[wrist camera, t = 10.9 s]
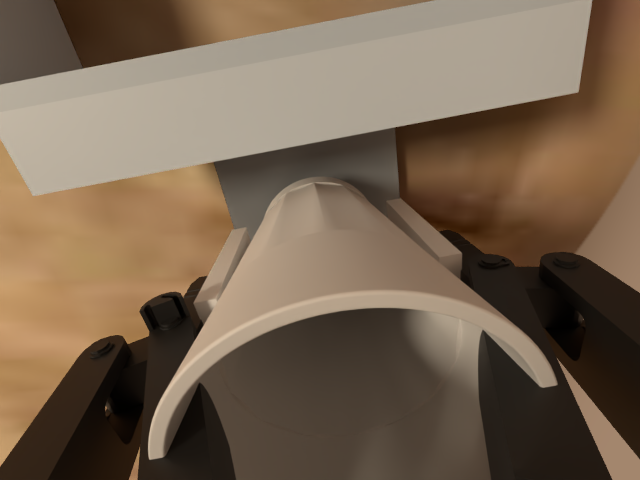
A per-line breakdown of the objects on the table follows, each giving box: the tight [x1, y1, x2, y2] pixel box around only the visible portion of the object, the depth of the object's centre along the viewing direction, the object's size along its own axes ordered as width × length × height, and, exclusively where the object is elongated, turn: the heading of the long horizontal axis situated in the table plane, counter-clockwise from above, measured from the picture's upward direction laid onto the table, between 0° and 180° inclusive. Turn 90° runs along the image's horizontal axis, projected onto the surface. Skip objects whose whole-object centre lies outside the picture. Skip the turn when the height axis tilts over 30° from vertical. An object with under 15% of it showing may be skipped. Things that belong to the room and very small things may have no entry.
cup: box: [148, 177, 558, 480], centre depth 12 cm, size 8×8×12 cm
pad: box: [214, 127, 400, 241], centre depth 19 cm, size 10×10×1 cm
